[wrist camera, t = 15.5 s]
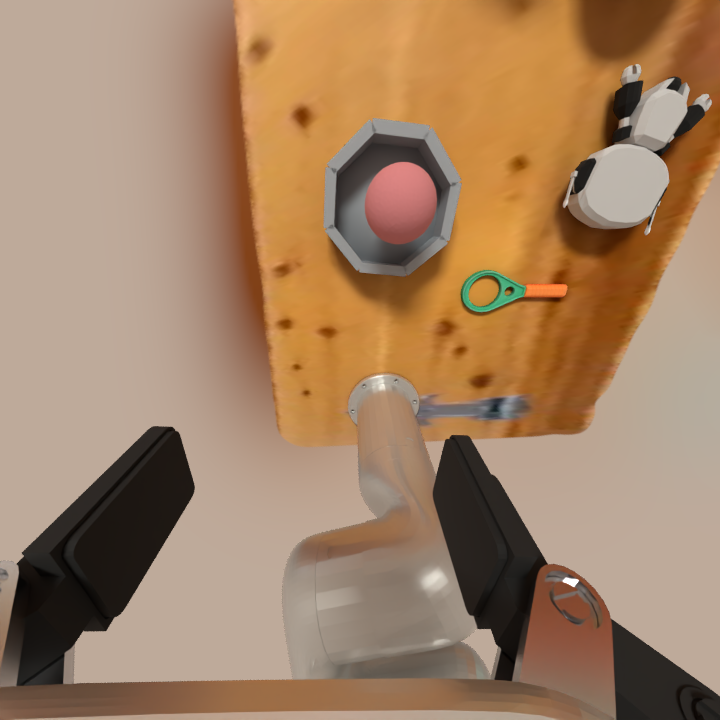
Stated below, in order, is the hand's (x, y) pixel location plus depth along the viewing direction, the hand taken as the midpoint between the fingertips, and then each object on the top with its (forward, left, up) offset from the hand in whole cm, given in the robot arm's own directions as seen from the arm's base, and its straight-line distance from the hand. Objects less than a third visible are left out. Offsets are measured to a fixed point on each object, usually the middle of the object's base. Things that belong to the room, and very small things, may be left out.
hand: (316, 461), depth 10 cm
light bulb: (+4, -11, -32) cm, 34 cm away
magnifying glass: (-16, -19, -34) cm, 42 cm away
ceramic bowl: (+4, -11, -33) cm, 35 cm away
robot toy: (-10, -36, -34) cm, 51 cm away
